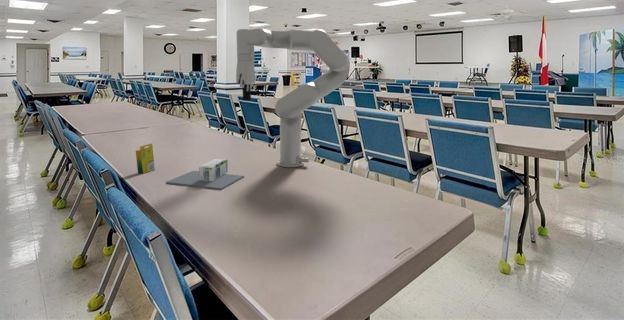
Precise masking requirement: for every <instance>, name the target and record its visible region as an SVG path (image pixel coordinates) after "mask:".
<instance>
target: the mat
mask: <svg viewBox="0 0 624 320" xmlns="http://www.w3.org/2000/svg"><path fill="white" fill-rule="evenodd" d="M244 178H245V175H241V174H240V175H239V174H231V173H229V174H228V173H226V174H224V175H222V176H220V177H219V178H217V179H215V180H214V181H201V180H199V170H191V171H189V172H187V173H183V174H182V175H180V176H176V177H174V178H172V179H169V180H167V181H165V184H170V185H176V186H185V187H194V188H195V187H196V188H202V189H211V190H219V191H222V190H224V189H225V188H227V187H229V186H231V185H233V184H235V183H236V182H238V181H241V180H242V179H244Z"/></svg>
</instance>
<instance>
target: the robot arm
mask: <svg viewBox="0 0 624 320" xmlns="http://www.w3.org/2000/svg"><path fill="white" fill-rule="evenodd" d="M255 47H261V48H268V49H286V50H291V51H304V52H305V51H308V52H314V53H315V54H316V56H317V57H319V59H320V60H321V61H322V63H324V64H325V66H327V68H329V69H328V70H327V71H326V72H324V73H323V74H321V75H320V76H319V77H316V78H315V79H313V80H311V81H310V82H306V83H302V84H301V85H298V86H297V87H296V88H294V89H293V90H291V91H290V92H288V93H287V94H285V95H283V96H282V97H280V98H279V99H278V100H277V101H276V103H275V106H274V110H275V113H276V115H277V117H279V118H280V121H279V158H280V159H279V160H277V161H276V165H277V166H278V167H282V168H298V167H303V166H304V165H305V163H310V158H309V157H304V156H303V155H304V154H303V153H302V152H301V151H302V148H301V147H302V137H301V136H302V115H303V114H302V113H303V112H304V111H305V110H307V109H309V108H310V107H312V106H313V105H315V104H317V103H318V102H319V101H320V100H322V99H323V98H325V97H327V95H329V94H331V93H332V92H333V91H335V90H337V89H338V88H339V87H341V86H342V85H343V84H344V82H346V80H347V79H348V76H349V74H350V67H351V64H350V58H349V56H348V54H347V53H345V52H344V51H343V50H342V49H341V48H340V47H339V46H338V45H337V44H336V42H334V41H333V39H332V38H331V37H330V35H329V34H328V32H326V31H325V30H323V29H315V30H311V29H310V30H309V29H295V28H294V29H290V30H283V31H281V30H268V29H264V28H254V29H252V28H251V29H247V28H243V29H242V28H241V29H238V30H236V58H237V61H236V72H235V73H236V75H235V78H236V79H235V80H236V82H235V83H236V84H237V85H239V88H240V89H241V90H242V100H243V101H251V100H252V96H251V95H252V92H251V91H252V87H254V84H255V83H256V73H255V72H256V71H255V70H256V69H255Z"/></svg>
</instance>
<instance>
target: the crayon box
mask: <svg viewBox="0 0 624 320" xmlns="http://www.w3.org/2000/svg"><path fill="white" fill-rule="evenodd" d="M139 148H140V149H137V150H135V156H136V167H137V168H136V169H137V173H138V174H142V175H143V174H146V173H149V172H151V171H155V170H156V168H155V159H154V158H155V157H154V148H153V143H149V144H145V145H141V146H140V147H139Z"/></svg>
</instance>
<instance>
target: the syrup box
mask: <svg viewBox="0 0 624 320" xmlns="http://www.w3.org/2000/svg"><path fill="white" fill-rule="evenodd" d="M228 165H229V162H228V159H227V158H226V159H225V158H224V159H223V158H214V159H212V160H210V161H208V162H206V163H204V164H202V165H199V166H198V171H199V180H201V181H214V180H215V179H217V178H219V177H220V176H222V175H224V174H228V169H229V168H228V167H229V166H228Z"/></svg>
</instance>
